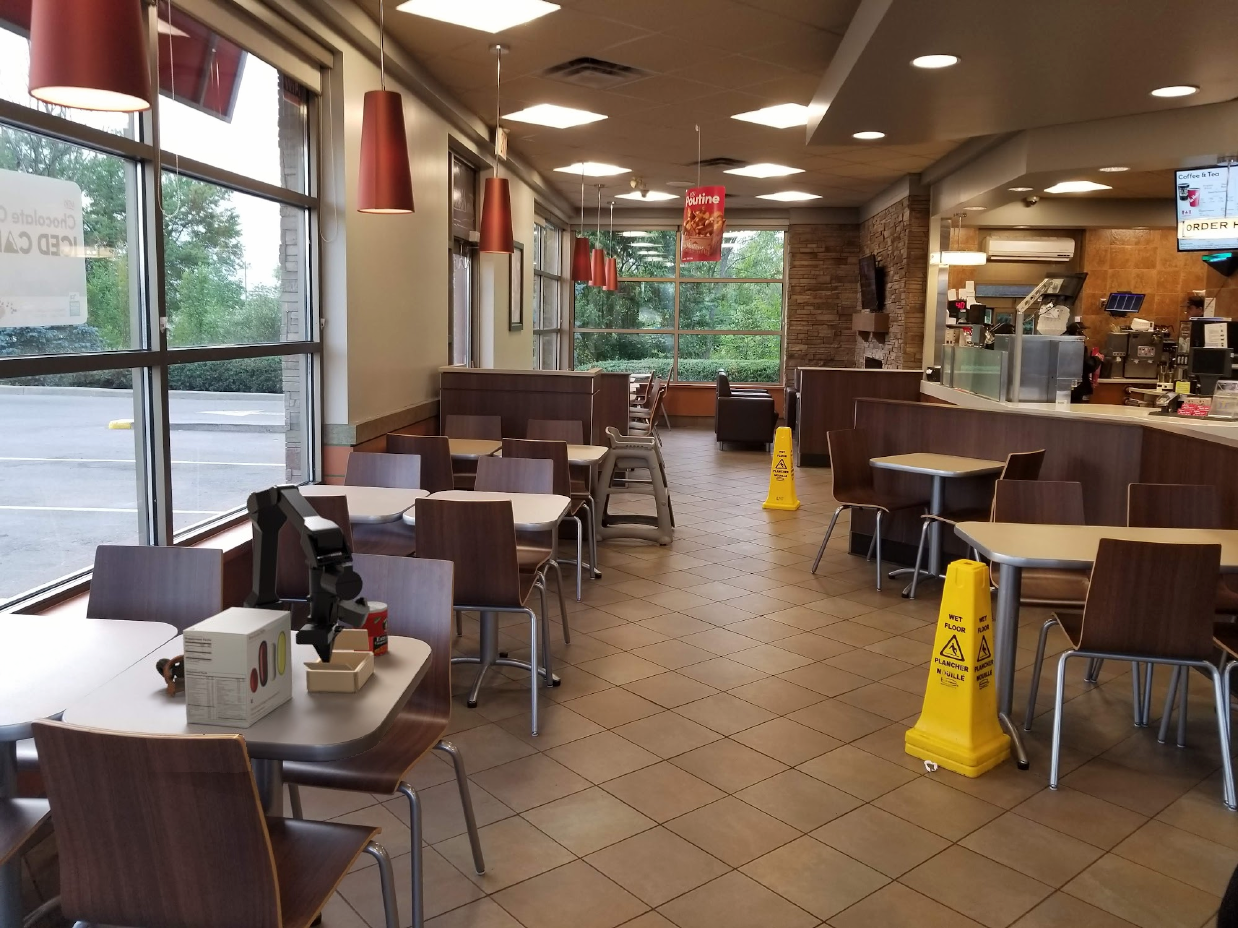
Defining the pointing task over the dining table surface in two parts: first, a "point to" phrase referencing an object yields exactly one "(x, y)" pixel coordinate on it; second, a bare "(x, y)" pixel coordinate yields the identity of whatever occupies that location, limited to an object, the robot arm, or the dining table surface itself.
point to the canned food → (376, 628)
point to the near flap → (327, 666)
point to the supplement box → (237, 666)
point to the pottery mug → (172, 674)
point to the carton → (342, 673)
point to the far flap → (352, 640)
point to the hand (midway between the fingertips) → (326, 664)
